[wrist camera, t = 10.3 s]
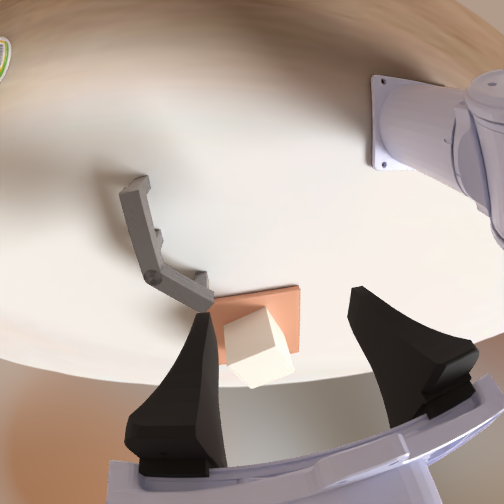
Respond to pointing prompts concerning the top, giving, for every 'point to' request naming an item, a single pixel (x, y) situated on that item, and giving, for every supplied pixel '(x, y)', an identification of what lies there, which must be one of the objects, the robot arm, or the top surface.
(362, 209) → the top surface
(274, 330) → the cream block
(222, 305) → the terracotta tile
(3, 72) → the supplement bottle
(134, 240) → the bent rail
